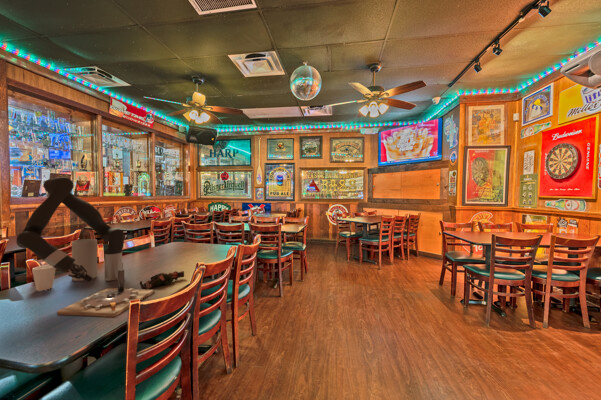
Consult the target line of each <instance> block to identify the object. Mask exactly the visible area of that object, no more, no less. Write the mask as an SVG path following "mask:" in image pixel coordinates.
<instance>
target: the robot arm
mask: <svg viewBox="0 0 601 400" xmlns="http://www.w3.org/2000/svg"><path fill="white" fill-rule="evenodd" d="M74 187H75V185H74V181H73V180H72V179H71V178H69V177H67V176H59V177H58V176H57V177H53V178H48V179H46V180H45V181H44V183H43V188H44V190H45V191H46V192H47V193H48V194H49V195H48V197H47V198H45V200H44V201H43V202H42V203H41V204H39V206H37V207H36V209H34V211H33V212H32V214H31V215H30V217H29V218H28V220H27V222H26V224H25V227H24V229H23V230H22V232H20V233H19V234H18V235H17V237H16V245H17V246H18V247H20V248H22V249H28V250H29V251H31V252H33V254H34V255H35V256H36V257H37V258H39V259H41V260H42V261H44V262H45V263H46V264H47V265H51V266H52V267H54V268H55V269H56V270H57V271H59V272H61V273H62V272H64V271H65V272H67V273H68V274H67V276H68V277H71V278H72V277H74V278H77V279H80V278H81V279H82V278H83V279H84V280H85V281H86V282H87V283H90V282H91V281H93V279H94V278H92V277H91V276H89V275H88V274H87V271H86V270H85V268H84V267H83V266H82V265H80V266H79V265H77V264H74V263H73V262H75V259H74V258H72V255H71V256H70V255H69V254H68V253H66V252H65V251H64V250H60V249H58V248H57V247H55V246H54V245H53V244H51V243H49V242H48V241H47V240H46V239H45V238H44V237H42V233H43V231H44V230H45V228H46V227H47V226H48V224H49V222H50V220H51V218H52V217H53V215H54V213H55V212H56V211H57V209H58V208H59V207H60V205H61V204H63V205H64V206H65V207H67V208H68V209H69V210H70V211H71V212H72V213H73V214H75V215H76V216H77V217H78V218H79V219H80V220H81V221H83V223H85V224H86V225H87V226H88V227H89V228H91V229H92V230H94V232H96V233H97V234H98V236H99V237H100V238H101V239H102V240H103V241H104V242H106V243H108V246H107V248H105V249H104V281H106V282H108V281H110V282H111V281H118V270H124V262H123V248H124V245H125V244H124V243H125V233H124V231H123V230H122V229H120V228H113V227H111V226H109V224H107V222H105V221H104V218H103V216H102V214H101V213H100V211H99V210H98V209H96V207H95V206H94V205H92V204H91V203H89V202H87V201H86V200H84V199H82V198H79V197H77V195H76V196H75V194H73V193H72V191H73V189H74ZM78 272H79V273H78Z"/></svg>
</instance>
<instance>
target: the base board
mask: <svg viewBox="0 0 601 400" xmlns="http://www.w3.org/2000/svg"><path fill="white" fill-rule="evenodd" d="M128 289H129V288H124V290H128ZM133 289H134V291H136V290H138V294H137V297H136V298H130V299H129V301H130V300H135V299H140V300H141V301H142V300H144V299H146V298H147V296H148V297H149V296H150V295H151V296H152V295H153V294H154V293H155V289H141V288H140V289H139V288H138V289H137V288H133ZM106 290H111V291H113V290H118V287H117V288H116V287H108V288H105V289H103V290H100V291H98V292H97V293H103V292H106ZM92 296H93V294H92V295H89V296H87V297H86V298H89V297H92ZM145 297H146V298H145ZM143 298H144V299H143ZM81 302H83V299H80V300H78V301H76V302H74V303H72V304H70V305H67V306H65V307H63V308H61V309H58V310H56V314H57V315H67V316H68V315H70V316H91V317H92V316H93V317H113V318H116V316H118V315H119V314H122V313H123V312H125V311H127V310H129V302H127V303H124V302H122V303H119V304H116V306H115V304H114V305H111V306H106V307H102V308H101V309H96V310H95V307H91V308H88V309H84V306H86V305H84V306H80V303H81ZM84 302H86V301H84Z"/></svg>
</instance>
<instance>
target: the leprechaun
mask: <svg viewBox="0 0 601 400" xmlns="http://www.w3.org/2000/svg"><path fill="white" fill-rule="evenodd" d="M184 277H185V271H184V270H182V271H177V270H175V271H173V272H168V273H165V272H161V273H157V274H155V275H152V276H151V277H150V280H147V281H145V282H144V283H143V281H142V280H140V281H139V287H140V289H147V290H149V289H150V288H154V287H158V286H161V285H165V286H168V285H169V286H170V285H171V284H172V283H173V281H177V280H178V279H179V278H184Z"/></svg>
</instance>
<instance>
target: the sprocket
mask: <svg viewBox="0 0 601 400" xmlns="http://www.w3.org/2000/svg"><path fill="white" fill-rule="evenodd" d="M117 288H118V290H113V291H111V290H106V292H103V293H98V292H96V293H93V294H92V295H93V296H92V297H89V296H88V297H89V298H87V297H84V298H83V299H82V300H83V302H81V303H80V306H84V305H86V306H84V309H88V308H91V307H95V310H96V309H101V308H102V307H106V306H111V305H114V304H115V306H116V304H119V303H122V302H124V303H127V302H129V299H130V298H136V297H137V294H138V290H136V291H134V289H135V288H133V287H132V288H131V287H130V288H127V289H128V290H124V289H125V269H123V270H118V279H117ZM84 301H86V302H84Z"/></svg>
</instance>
